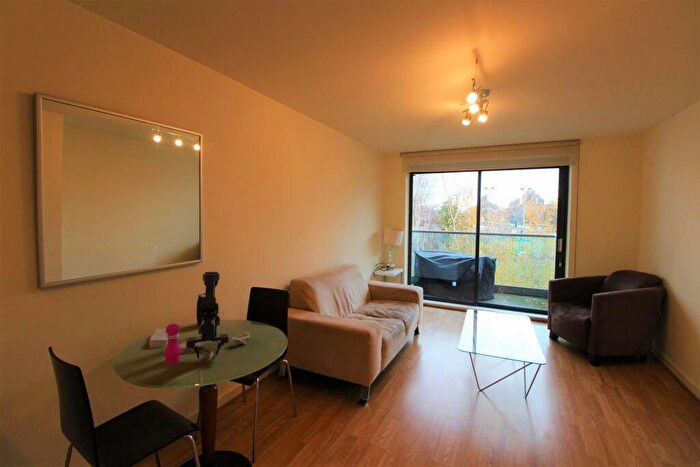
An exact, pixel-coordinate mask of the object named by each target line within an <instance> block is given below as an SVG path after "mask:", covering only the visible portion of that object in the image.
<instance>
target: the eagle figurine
mask: <svg viewBox="0 0 700 467" xmlns="http://www.w3.org/2000/svg"><path fill="white" fill-rule="evenodd" d="M198 349H199V355H202V356H203V357H199V359H198V358H197V359H196V360H194V361H193V363H194V364H200V363H202V362H206V361H208V359H211V360H213V361H215V358H216V356H215V354H216V348H214V350H213V351H211V352H210V350H209V349H208V348H207V349H206V348H205V347H204V346H203V347H199V348H198Z"/></svg>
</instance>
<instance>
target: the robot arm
mask: <svg viewBox="0 0 700 467" xmlns="http://www.w3.org/2000/svg"><path fill="white" fill-rule="evenodd" d="M220 275H221V273H219V272H218V271H205V272H204V273H202V281H203V284H204V287H205V292H204V293H205V297H204V298H203V299H202V303H201V304H200V316H199V318H202V324H201V327H198V333H197V334H198V335H201V336H200V337H201V338H202V339H196V336H191V337H187V341H186V347H187V348H189V347H191V349H194V351H195V352H194V353H195V354H196V357H197V360H198V359H199V358H200V354H199V349H198V343H203V344H204V343H205V344H206V343H213V342H216V348H215V349H216V351H215V353H216V354H215V357H217V356H218V354H219V351H220V349H221V348H222V346H224V345H225V344H229V340H230V337H229V334H228V333H223V334H221V333H220V334H219V336H218V334H217V327H218V326H219V325H221V323H220V322H221V318H220V316H219V309H220V307H219V303H218V302H217V298H216V287H217V286H218V285H219V281H220V279H221V278H220ZM201 311H202V313H204V314H202V315H201Z"/></svg>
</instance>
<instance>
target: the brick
mask: <svg viewBox="0 0 700 467" xmlns="http://www.w3.org/2000/svg"><path fill="white" fill-rule="evenodd" d="M167 343H168V338H167V333H166V327H165V328H164V327H163V328H157V329H155V331H154V333H153V334H152V336H151V337H150V338H149V343H148V344H149V348H150V349H154V348H166V346H167Z"/></svg>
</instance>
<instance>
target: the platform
mask: <svg viewBox="0 0 700 467" xmlns="http://www.w3.org/2000/svg"><path fill="white" fill-rule="evenodd" d="M250 337H251V334H250V333H249V332H247V331H245V332H241V333H237V334H236V336H231V339H232V340H233V346H234V347H235V346H238V345H241V344H242V345H243V344H245V345H246V344H247V343H249V338H250Z"/></svg>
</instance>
